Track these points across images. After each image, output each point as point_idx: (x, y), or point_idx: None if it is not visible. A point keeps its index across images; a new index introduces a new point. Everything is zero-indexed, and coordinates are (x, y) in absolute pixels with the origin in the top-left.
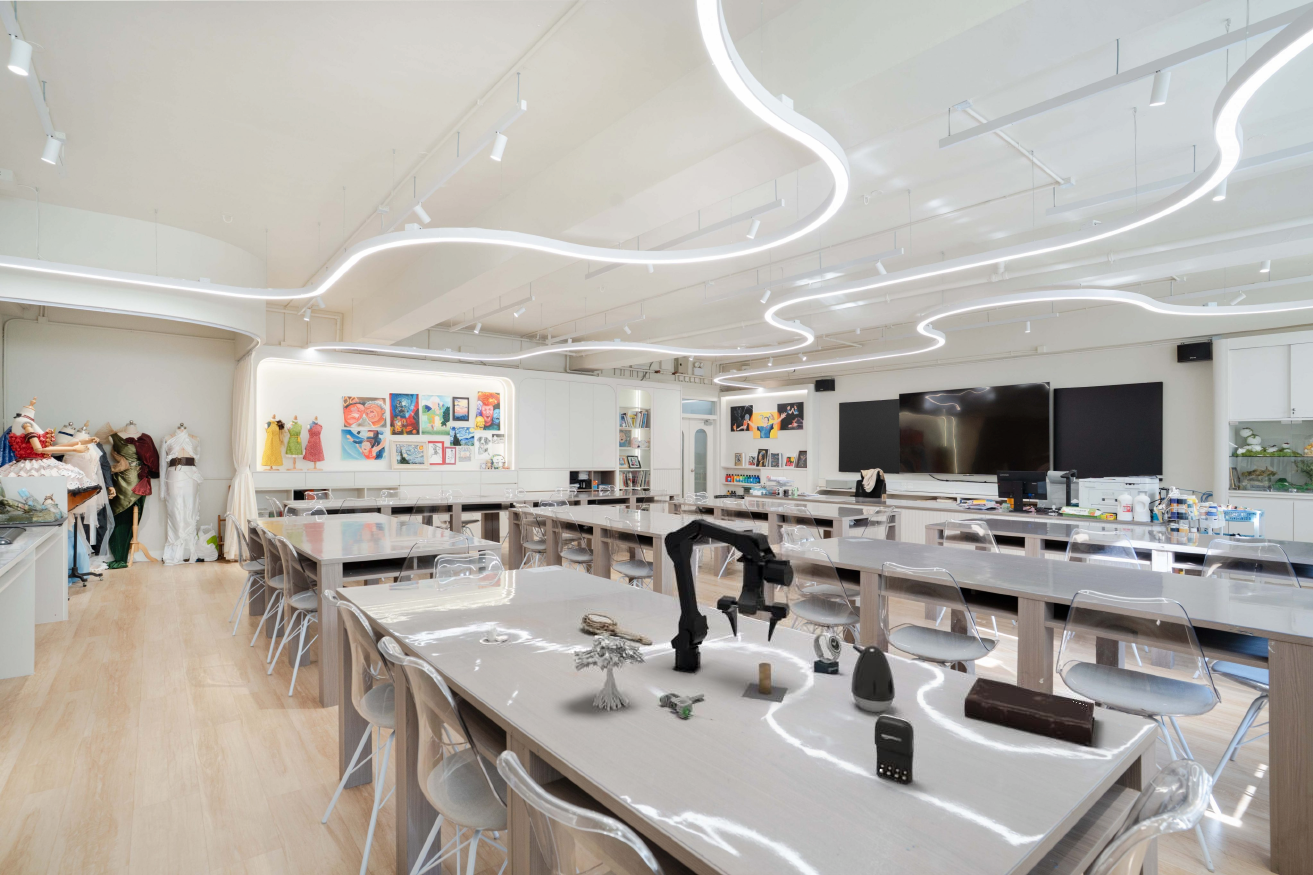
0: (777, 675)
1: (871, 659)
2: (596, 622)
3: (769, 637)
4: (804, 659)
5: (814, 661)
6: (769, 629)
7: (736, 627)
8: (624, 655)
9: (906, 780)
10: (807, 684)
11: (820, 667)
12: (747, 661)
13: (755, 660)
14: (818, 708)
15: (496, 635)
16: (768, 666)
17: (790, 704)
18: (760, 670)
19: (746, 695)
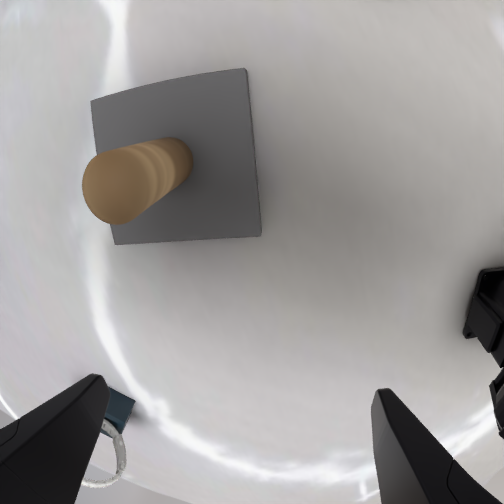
0: (207, 361)
1: None
2: None
3: (73, 388)
4: (192, 453)
5: (124, 421)
6: (35, 429)
7: (383, 464)
8: None
9: None
10: (105, 323)
11: (109, 404)
12: (327, 417)
13: (305, 428)
14: (21, 159)
15: None
16: (86, 169)
17: (80, 137)
18: (140, 151)
19: (228, 88)
